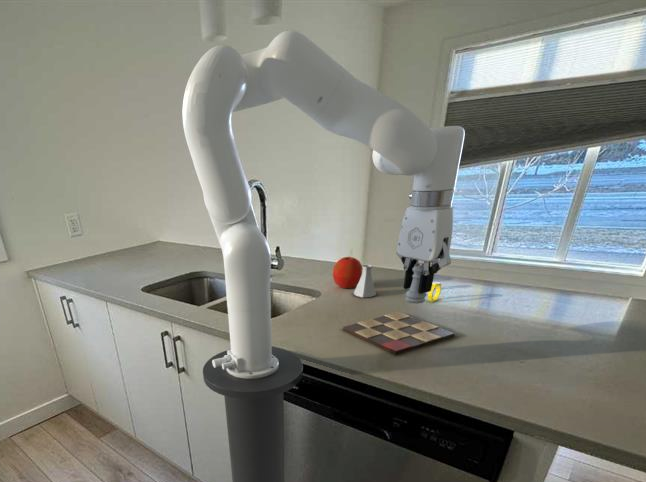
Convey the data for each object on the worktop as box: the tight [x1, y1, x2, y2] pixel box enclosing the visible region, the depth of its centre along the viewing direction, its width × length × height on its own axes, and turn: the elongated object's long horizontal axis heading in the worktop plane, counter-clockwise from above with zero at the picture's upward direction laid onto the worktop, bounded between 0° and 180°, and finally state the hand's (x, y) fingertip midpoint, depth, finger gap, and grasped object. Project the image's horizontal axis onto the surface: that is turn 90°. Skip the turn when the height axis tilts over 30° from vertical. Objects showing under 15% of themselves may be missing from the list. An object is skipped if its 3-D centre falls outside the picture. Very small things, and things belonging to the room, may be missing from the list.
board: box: [342, 311, 456, 356], centre depth 110 cm, size 20×20×1 cm
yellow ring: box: [427, 281, 442, 303], centre depth 128 cm, size 6×3×6 cm, turn 131°
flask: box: [353, 264, 377, 298], centre depth 138 cm, size 7×7×10 cm
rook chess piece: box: [404, 262, 428, 304], centre depth 88 cm, size 4×4×8 cm
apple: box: [332, 255, 363, 289], centre depth 147 cm, size 10×10×12 cm
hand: (416, 289), depth 89 cm, fingers closed on rook chess piece, 3 cm apart
